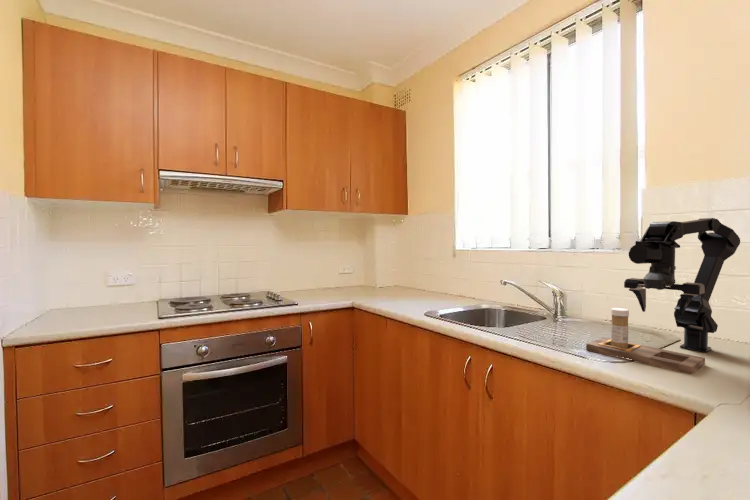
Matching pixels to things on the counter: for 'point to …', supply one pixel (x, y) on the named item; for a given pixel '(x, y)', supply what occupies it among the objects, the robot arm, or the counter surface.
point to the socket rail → (649, 356)
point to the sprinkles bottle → (619, 327)
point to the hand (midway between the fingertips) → (661, 314)
